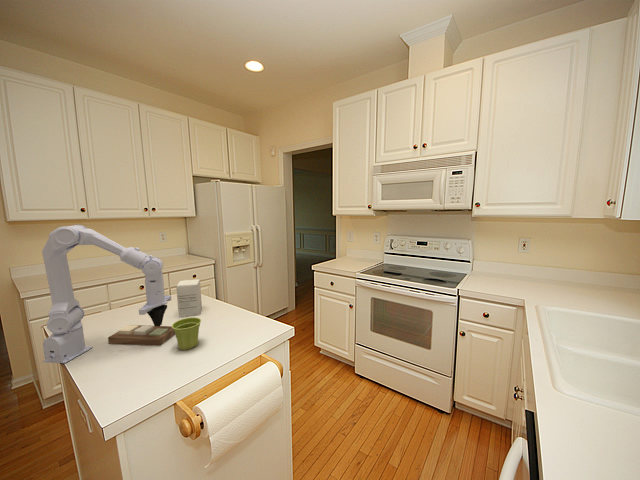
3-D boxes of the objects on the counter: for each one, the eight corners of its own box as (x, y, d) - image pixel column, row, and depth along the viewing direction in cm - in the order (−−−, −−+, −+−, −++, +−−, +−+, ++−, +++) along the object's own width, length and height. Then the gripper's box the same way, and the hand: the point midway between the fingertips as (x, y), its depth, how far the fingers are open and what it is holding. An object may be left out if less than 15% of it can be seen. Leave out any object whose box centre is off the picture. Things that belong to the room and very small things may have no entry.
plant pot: (170, 354, 87) (168, 330, 86) (177, 340, 96) (175, 318, 95) (200, 350, 90) (198, 327, 89) (204, 337, 99) (203, 315, 98)
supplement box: (182, 310, 125) (179, 280, 123) (202, 308, 128) (200, 278, 126) (178, 317, 116) (175, 285, 114) (199, 315, 119) (197, 283, 117)
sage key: (160, 340, 96) (160, 334, 95) (149, 340, 96) (149, 333, 96) (168, 334, 100) (168, 328, 100) (157, 334, 100) (157, 328, 100)
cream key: (130, 337, 96) (129, 330, 96) (119, 336, 97) (118, 330, 97) (139, 331, 101) (138, 325, 101) (128, 331, 101) (128, 325, 101)
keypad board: (160, 345, 93) (159, 339, 92) (108, 343, 94) (107, 337, 94) (177, 332, 103) (177, 326, 102) (130, 330, 104) (130, 324, 104)
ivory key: (145, 337, 96) (144, 331, 96) (134, 337, 96) (133, 331, 96) (153, 332, 100) (153, 326, 100) (143, 331, 101) (142, 325, 100)
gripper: (151, 297, 88) (154, 335, 90) (177, 285, 102) (179, 317, 104) (131, 297, 89) (135, 334, 90) (160, 284, 103) (163, 316, 105)
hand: (158, 325), depth 97 cm, fingers closed
